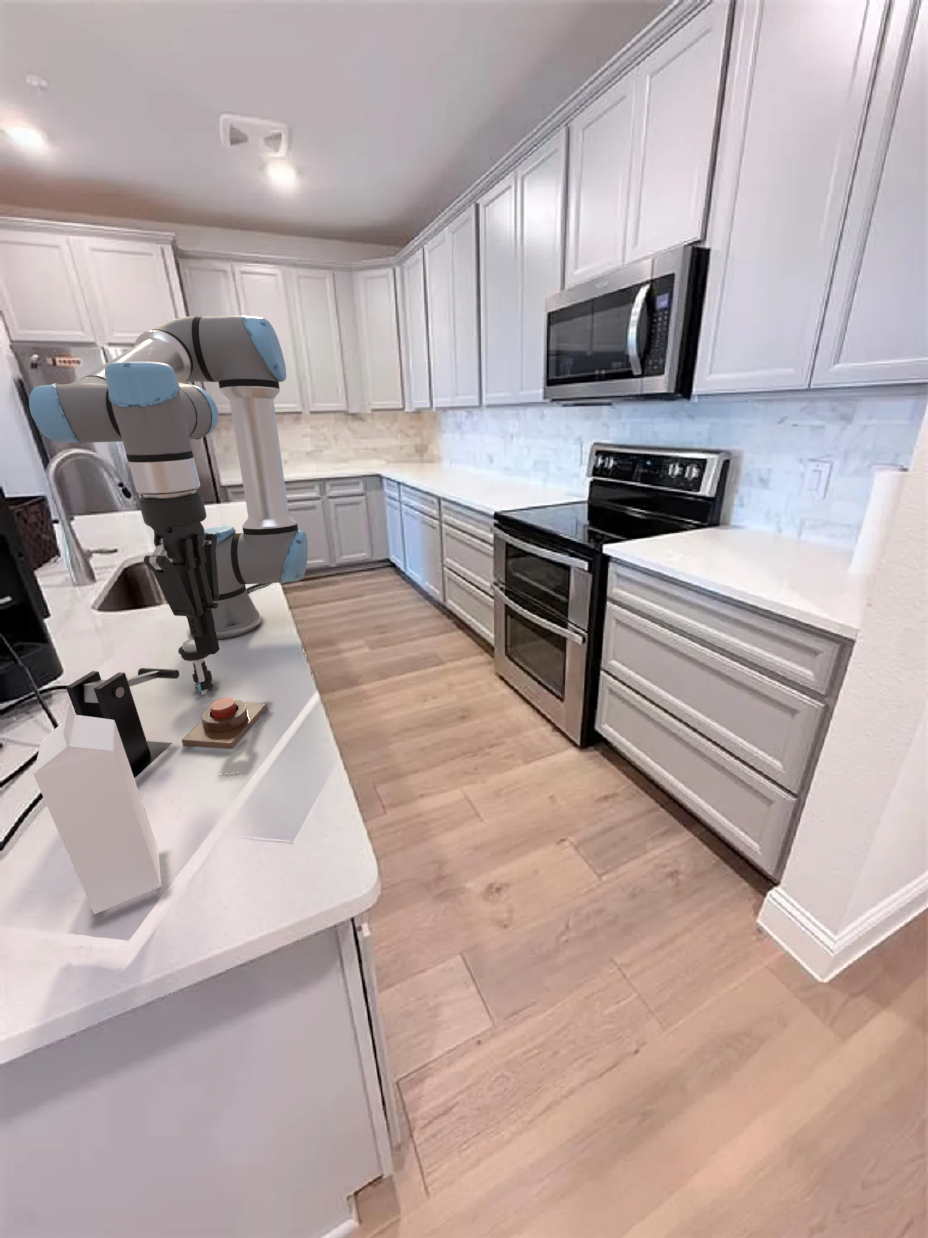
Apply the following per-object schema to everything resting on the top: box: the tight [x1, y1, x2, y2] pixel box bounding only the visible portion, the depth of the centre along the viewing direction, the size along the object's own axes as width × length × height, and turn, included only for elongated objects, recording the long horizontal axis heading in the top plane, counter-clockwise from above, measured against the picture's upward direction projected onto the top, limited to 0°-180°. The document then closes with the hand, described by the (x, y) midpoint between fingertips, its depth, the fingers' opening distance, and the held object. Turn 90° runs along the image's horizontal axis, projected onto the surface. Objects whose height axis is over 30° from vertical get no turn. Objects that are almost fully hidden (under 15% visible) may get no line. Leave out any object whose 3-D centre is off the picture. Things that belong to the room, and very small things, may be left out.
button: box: [209, 697, 237, 719], centre depth 80 cm, size 4×4×2 cm
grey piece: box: [177, 638, 215, 696], centre depth 91 cm, size 7×5×10 cm
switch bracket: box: [65, 670, 173, 779], centre depth 70 cm, size 10×8×15 cm
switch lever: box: [83, 667, 180, 703], centre depth 73 cm, size 13×6×2 cm, turn 173°
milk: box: [32, 702, 162, 915], centre depth 51 cm, size 6×6×22 cm
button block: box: [181, 699, 268, 750], centre depth 80 cm, size 11×8×4 cm
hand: (208, 651), depth 76 cm, fingers closed
